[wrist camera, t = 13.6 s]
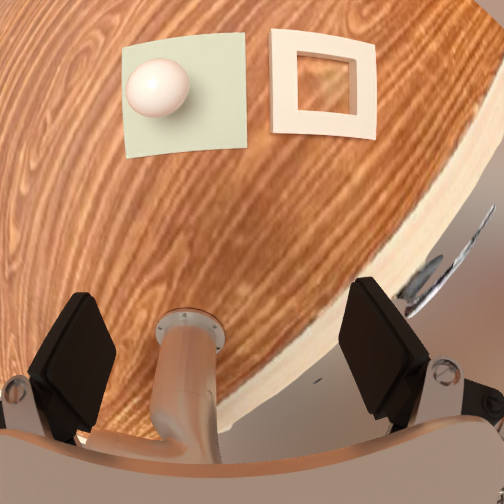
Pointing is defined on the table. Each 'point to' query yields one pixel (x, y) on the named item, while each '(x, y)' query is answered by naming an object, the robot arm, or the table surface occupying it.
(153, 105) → the lightbulb
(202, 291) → the table surface
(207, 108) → the sage mat
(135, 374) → the table surface
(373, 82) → the pocket holder
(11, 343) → the table surface
